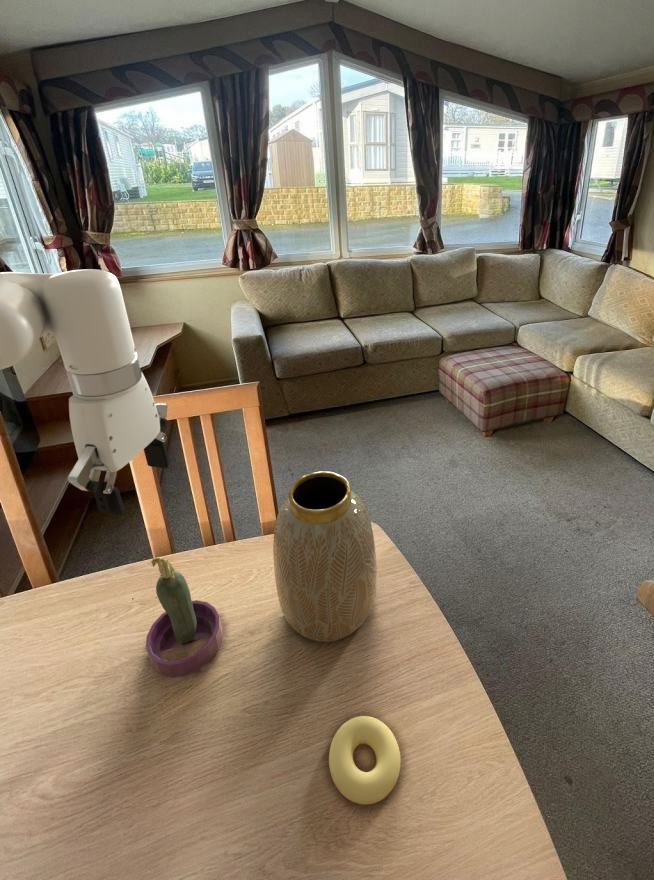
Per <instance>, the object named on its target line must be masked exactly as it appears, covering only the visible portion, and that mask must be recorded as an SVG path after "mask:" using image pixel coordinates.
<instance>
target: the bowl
mask: <svg viewBox="0 0 654 880" xmlns="http://www.w3.org/2000/svg"><path fill="white" fill-rule="evenodd" d="M192 603H193V609H194V613H195V616H196V621H197V625H196V632H195V636H194V638H193V639H192V640H190V641H189V642H187V643H185V644H183V645H181V643H180V642H178V641H177V640H176V638H175V636H174V631H173V628H172V622H171V620H170V617H169V615H168V614H167V612H166V611H164V612H163V613H161V614H160V615H159V616H158V618H156V620H155V621H154V622H153V623H152V624H151V627H150V628H149V631H148V632H147V635H146V641H145V649H146V653H147V656H148V659H149V661H150V663H151V666H152V669H153V670H154V671H155V672H157V673H158V674H159V675H161V676H163V677H168V678H180V677H187V676H188V675H190V674H193V673H195V672H197V671H199V670H200V669H202V668H203V667H205V666H206V665H207V664H208V663H209V662H210V661H212V659H213V658H214V656H215V655H216V654H217V652H218V651H219V649H220V646H221V643H222V640H223V634H224V630H223V626H222V625H223V624H222V622H221V618H220V614H219V613H218V610H217V609H216V607H215V606H213V605H212V604H210V603H209V602H207V601H202V600H197V599H195V600H192ZM205 639H209V640H208V641H207V642H206V643H205V645H204V646H202V647H201V649H199V650H198V651H197V652H195V653H194V654H191V655H189V656H187V657H185V658H182V659H176V660H167V659H166V658H164V657H163V656H162V653H163V652H165V651H169V650H172V649H176V648H179V647H182V646H185V645H188V644H193V643H195V642H199V641H202V640H205Z"/></svg>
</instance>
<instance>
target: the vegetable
mask: <svg viewBox="0 0 654 880" xmlns="http://www.w3.org/2000/svg"><path fill="white" fill-rule="evenodd" d="M150 562H151V564H152V568H154V567H155V566H156V565H157V566H158V571H159V574H160V575H159V577H158V579H157V582H156V585H155V593H156V596H157V599H158V601H159V603H160V605H161V607H162V608H163V609H164V612H167V614H168V615H169V617H170V620H171V622H172V628H173V631H174V636H175V638H176V640H177V641H178V642H180V643H181V645H182V646H184V645H183V644H185V643H187V642H189V641H190V640H192V639H193V638H194V636H195V632H196V625H197V621H196V616H195V613H194V609H193V603H192V601H193V600H192V596H191V591H190V588H189V584H188V582H187V580H186V578H185V576H184V575H183V574H182V573H181V571H180V572H179V571H177V570H175V568H174V566H173V565H172V562H171V561H170V559H167V558H164V557H161V556H157V557H154V558H153V559H152V560H151V561H150Z"/></svg>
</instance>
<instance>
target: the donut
mask: <svg viewBox="0 0 654 880" xmlns="http://www.w3.org/2000/svg"><path fill="white" fill-rule="evenodd" d="M359 745H367V746H369V747H370V749H372V750H373V752H374V755H375V757H376V762H375V766H374V767H373V768H372V770H370V771H363V770H361V769H359V768H358V767H357V765H356V763H355V761H354V752H355V749H356V748H357V747H358V746H359ZM328 766H329V772H330V776H331V779H332V781H333V783H334V785H335V787H336V788H337V790H338V791H339V793H340V794H341V795H342V796H343V797H344V798H346V799H347V800H348V801H350V802H352V803H354V804H358V805H363V806H369V805H373V804H376V803H379V802H381V801H383V800H384V799H385V798H386V797H387V796H389V795H390V794H391V792H392V791H393V790H394V788H395V786H396V784H397V782H398V779H399V776H400V771H401V752H400V748H399V744H398V741H397V739H396V737H395V735H394V733H393V732H392V730H391V729H390V728H389V727H388V726H387V725H386V724H385V723H384V722H383V721H381V720H380V719H378V718H375V717H372V716H368V715H360V716H354V717H352V718H350V719H349V720H347V721H346V722H344V723H343V724H342V725H341V726H340V727H339V728H338V730H337V731H336V732H335V734H334V735H333V738H332V741H331V743H330V748H329V754H328Z"/></svg>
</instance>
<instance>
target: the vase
mask: <svg viewBox="0 0 654 880" xmlns="http://www.w3.org/2000/svg"><path fill="white" fill-rule="evenodd" d="M272 544H273V545H272V547H273V549H272V553H273V555H272V556H273V570H274V579H275V580H274V581H275V586H276V591H277V598H278V603H279V607H280V609H281V613H282V615H283V617H284V618H285V620H286V622H287V623H288V625H289V626H290V627H291V628H292V629H293V630H294V631H295V632H296V633H298V634H299V635H300V636H302V637H304V638H306V639H309V640H311V641H314V642H321V643H323V642H324V643H326V642H327V643H329V642H335V641H338V640H342V639H344V638H346V637H349V636H350V635H352V634H353V633H354V632H356V631H357V630H358V629H359V628H360V627H361V626H362V625H363V623H364V622H365V621H366V620H367V618H368V617H369V615H370V613H371V612H372V609H373V607H374V603H375V600H376V596H377V580H378V579H377V577H378V576H377V574H378V573H377V570H378V569H377V567H378V566H377V554H376V546H375V545H376V544H375V537H374V531H373V526H372V522H371V518H370V515H369V512H368V510H367V508H366V505H365V503H364V502H363V501H362V499H361V498H360V497H359V496H358V494H357V493H355V492H354V491H353V490H352V489H351V485H350V483H349V481H348V480H347V478H345V477H344V476H342V475H341V474H338V473H336V472H332V471H316V472H311V473H308V474H305V475H303V476H301V477H299V478H298V479H297V480H295V481H294V482H293V484H292V485H291V486H290V488H289V491H288V497H287V499H286V500H285V501H284V503H283V504H282V506H281V508H280V509H279V511H278V513H277V516H276V520H275V523H274V530H273V543H272Z"/></svg>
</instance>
